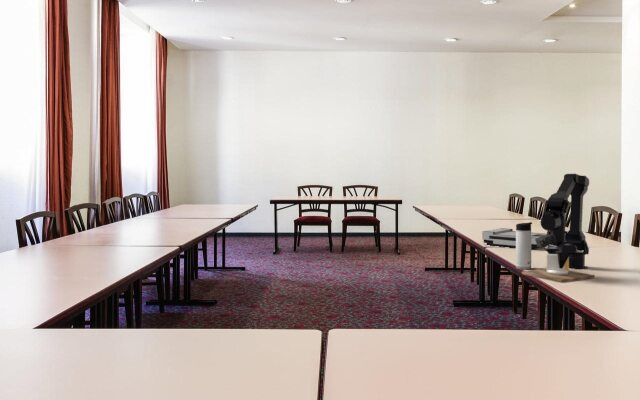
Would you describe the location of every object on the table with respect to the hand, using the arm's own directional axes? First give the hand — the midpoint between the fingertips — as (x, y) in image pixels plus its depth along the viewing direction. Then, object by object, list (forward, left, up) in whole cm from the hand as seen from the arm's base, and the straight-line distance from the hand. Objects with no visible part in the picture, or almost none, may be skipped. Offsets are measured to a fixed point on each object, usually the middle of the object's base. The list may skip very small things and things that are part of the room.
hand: (557, 267), depth 226 cm
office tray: (-48, -71, -4) cm, 86 cm away
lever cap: (0, 0, -2) cm, 2 cm away
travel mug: (-1, -19, -4) cm, 19 cm away
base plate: (0, 0, -4) cm, 4 cm away
